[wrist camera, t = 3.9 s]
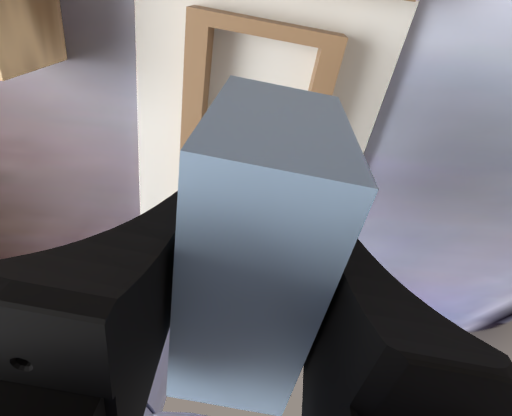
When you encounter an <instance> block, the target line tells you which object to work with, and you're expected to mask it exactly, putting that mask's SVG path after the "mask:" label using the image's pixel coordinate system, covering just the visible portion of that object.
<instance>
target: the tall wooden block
mask: <svg viewBox="0 0 512 416" xmlns="http://www.w3.org/2000/svg"><path fill="white" fill-rule="evenodd" d="M65 60H67V53H66V46H65V38H64V31H63V23H62V15H61V8H60V0H0V81H5V80H8V79H11V78H14V77H17V76H20V75H23V74H26V73H29V72H32V71H35V70H38V69H41V68H44V67H47V66H50V65H53V64H56V63H59V62H62V61H65Z"/></svg>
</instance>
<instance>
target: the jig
mask: <svg viewBox="0 0 512 416" xmlns="http://www.w3.org/2000/svg"><path fill="white" fill-rule="evenodd" d="M418 3H419V0H134V6H135V42H136V79H137V115H138V151H139V188H140V215H141V214H143V213H145V212H146V211H148V210H150V209H151V208H153V207H155V206H156V205H158V204H159V203H161V202H162V201H164V200H165V199H167V198H168V197H169V196H171V195H172V194H174V193H175V192H176V191H178V178H179V161H180V150H181V148H182V147H183V145H184V144H185V142H186V141H187V139H188V138H189V136H190V135H191V133H192V132H193V131H194V129H195V128H196V126H197V125H198V123H199V122H200V120H201V119H202V117H203V116H204V114H205V113H206V111H207V110H208V108H209V107H210V105H211V104H212V102H213V101H214V99H215V98H216V96H217V95H218V93H219V92H220V90H221V89H222V87H223V86H224V84H225V83H226V81H227V80H228V78H229V77H230V75H232V76H237V77H242V78H247V79H252V80H257V81H262V82H267V83H272V84H277V85H282V86H287V87H292V88H297V89H302V90H307V91H312V92H316V93H321V94H326V95H331V96H336V97H339V100H340V102H341V104H342V106H343V109H344V111H345V113H346V116H347V118H348V120H349V122H350V125H351V127H352V129H353V132H354V134H355V136H356V138H357V141H358V143H359V145H360V148H361V150H362V152H363V154H364V151H365V148H366V146H367V143H368V140H369V137H370V135H371V132H372V129H373V126H374V124H375V121H376V118H377V115H378V113H379V110H380V107H381V104H382V102H383V99H384V96H385V93H386V91H387V88H388V85H389V83H390V80H391V77H392V74H393V72H394V69H395V66H396V63H397V61H398V58H399V55H400V52H401V50H402V47H403V44H404V41H405V39H406V36H407V33H408V30H409V28H410V25H411V22H412V20H413V17H414V14H415V11H416V9H417V6H418Z"/></svg>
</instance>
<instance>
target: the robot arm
mask: <svg viewBox="0 0 512 416" xmlns="http://www.w3.org/2000/svg"><path fill="white" fill-rule="evenodd" d="M177 196H178V191H176V192H175V193H174V194H172V195H171V196H169V197H168V198H167V199H165V200H164V201H162V202H161V203H159V204H158V205H156V206H155V207H153V208H151V209H150V210H148V211H146V212H145V213H143V214H141V215H140V216H138V217H136V218H134V219H132V220H130V221H128V222H126V223H124V224H121V225H119V226H117V227H115V228H112V229H110V230H107V231H105V232H102V233H99V234H97V235H94V236H91V237H89V238H86V239H83V240H80V241H77V242H74V243H70V244H67V245H64V246H60V247H56V248H52V249H49V250H45V251H40V252H36V253H31V254H26V255H21V256H16V257H11V258H7V259H1V260H0V416H206V415H201V414H195V413H187V412H162V410H163V407H164V404H165V400H166V397H167V396H166V389H167V371H168V354H169V336H170V319H171V301H172V284H173V266H174V249H175V231H176V213H177ZM303 374H304V375H303V402H302V416H512V362H511V360H510V358H509V357H508V355H506V354H504V353H503V352H501V351H499V350H497V349H496V348H494V347H492V346H491V345H489V344H487V343H485V342H484V341H482V340H480V339H478V338H476V337H475V336H473V335H472V334H470V333H468V332H467V331H465V330H463V329H462V328H460V327H459V326H457V325H456V324H454V323H453V322H451V321H450V320H448V319H447V318H445V317H444V316H442V315H441V314H439V313H438V312H437V311H435V310H434V309H433V308H431V307H430V306H428V305H427V304H426V303H424V302H423V301H422V300H421V299H419V298H418V297H417V296H416V295H414V294H413V293H412V292H410V291H409V290H408V289H407V288H406V287H404V286H403V285H402V284H401V283H400V282H399V281H398V280H397V279H396V278H394V277H393V276H392V275H391V274H390V273H389V272H388V271H387V270H386V269H385V268H384V267H383V266H382V265H381V264H380V263H379V262H378V261H377V260H376V259H375V258H374V257H373V256H372V255H371V253H370V252H369V251H368V250H367V249H366V248H365V247H364V246H363V244H362V243H361V242H360V241H359V240H358V239H357V241H356V243H355V246H354V248H353V250H352V253H351V255H350V257H349V260H348V262H347V264H346V267H345V269H344V272H343V274H342V276H341V279H340V281H339V283H338V286H337V288H336V290H335V293H334V295H333V297H332V300H331V302H330V304H329V307H328V309H327V311H326V314H325V316H324V318H323V321H322V323H321V325H320V328H319V330H318V332H317V335H316V337H315V339H314V342H313V344H312V346H311V349H310V351H309V353H308V356H307V358H306V360H305V363H304V373H303Z"/></svg>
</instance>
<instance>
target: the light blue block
mask: <svg viewBox="0 0 512 416" xmlns="http://www.w3.org/2000/svg"><path fill="white" fill-rule="evenodd" d="M378 190H379V189H378V187H377V184H376V182H375V180H374V177H373V175H372V173H371V171H370V168H369V166H368V164H367V161H366V159H365V157H364V155H363V152H362V150H361V148H360V145H359V143H358V141H357V138H356V136H355V134H354V132H353V129H352V127H351V125H350V122H349V120H348V118H347V116H346V113H345V111H344V109H343V106H342V104H341V102H340V100H339V97H336V96H331V95H326V94H321V93H316V92H312V91H307V90H302V89H297V88H292V87H287V86H282V85H277V84H272V83H267V82H262V81H257V80H252V79H247V78H242V77H237V76H232V75H230V77H229V78H228V80H227V81H226V83H225V84H224V86H223V87H222V89H221V90H220V92H219V93H218V95H217V96H216V98H215V99H214V101H213V102H212V104H211V105H210V107H209V108H208V110H207V111H206V113H205V114H204V116H203V117H202V119H201V120H200V122H199V123H198V125H197V126H196V128H195V129H194V131H193V132H192V133H191V135H190V136H189V138H188V139H187V141H186V142H185V144H184V145H183V147H182V148H181V150H180V161H179V178H178V196H177V213H176V231H175V249H174V266H173V284H172V301H171V319H170V336H169V354H168V371H167V389H166V396H169V397H174V398H180V399H186V400H191V401H197V402H203V403H208V404H213V405H219V406H224V407H231V408H236V409H242V410H247V411H253V412H258V413H264V414H270V415H275V416H282V414H283V412H284V410H285V407H286V405H287V403H288V400H289V398H290V396H291V393H292V391H293V388H294V386H295V384H296V381H297V379H298V377H299V374H300V372H301V370H302V367H303V365H304V363H305V360H306V358H307V356H308V353H309V351H310V349H311V346H312V344H313V342H314V339H315V337H316V335H317V332H318V330H319V328H320V325H321V323H322V321H323V318H324V316H325V314H326V311H327V309H328V307H329V304H330V302H331V300H332V297H333V295H334V293H335V290H336V288H337V286H338V283H339V281H340V279H341V276H342V274H343V272H344V269H345V267H346V264H347V262H348V260H349V257H350V255H351V253H352V250H353V248H354V246H355V243H356V241H357V239H358V236H359V234H360V232H361V229H362V227H363V225H364V222H365V220H366V218H367V215H368V213H369V211H370V208H371V206H372V204H373V201H374V199H375V197H376V194H377V192H378Z"/></svg>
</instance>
